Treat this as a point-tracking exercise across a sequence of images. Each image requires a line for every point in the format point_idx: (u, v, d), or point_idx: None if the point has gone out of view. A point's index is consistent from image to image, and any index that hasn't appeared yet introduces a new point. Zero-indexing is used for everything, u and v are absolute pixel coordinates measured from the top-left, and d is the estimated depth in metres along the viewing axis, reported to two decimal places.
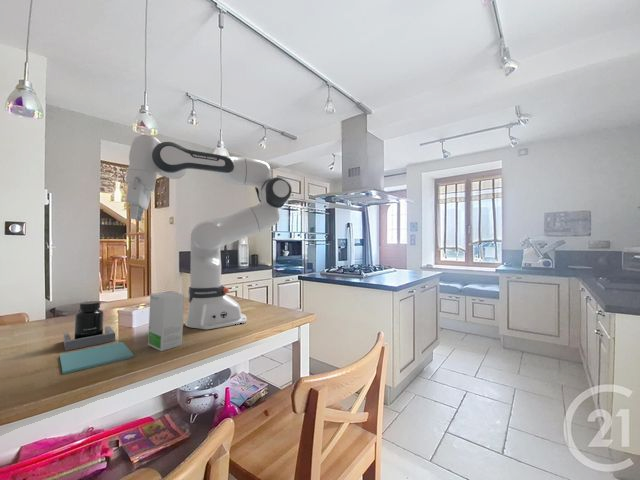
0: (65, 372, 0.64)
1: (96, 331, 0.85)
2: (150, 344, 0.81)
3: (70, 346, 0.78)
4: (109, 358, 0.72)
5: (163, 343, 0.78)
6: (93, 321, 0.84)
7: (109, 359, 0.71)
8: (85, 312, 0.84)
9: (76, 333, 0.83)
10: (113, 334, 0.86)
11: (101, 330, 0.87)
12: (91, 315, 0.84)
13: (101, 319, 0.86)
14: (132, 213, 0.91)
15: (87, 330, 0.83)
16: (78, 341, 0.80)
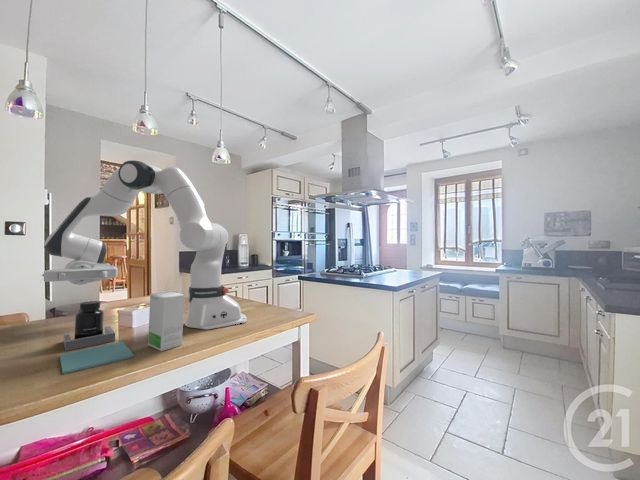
0: (65, 372, 0.64)
1: (96, 331, 0.85)
2: (150, 344, 0.81)
3: (70, 346, 0.78)
4: (109, 358, 0.72)
5: (163, 343, 0.78)
6: (93, 321, 0.84)
7: (109, 359, 0.71)
8: (85, 312, 0.84)
9: (76, 333, 0.83)
10: (113, 334, 0.86)
11: (101, 330, 0.87)
12: (91, 315, 0.84)
13: (101, 319, 0.86)
14: (62, 277, 0.92)
15: (87, 330, 0.83)
16: (78, 341, 0.80)
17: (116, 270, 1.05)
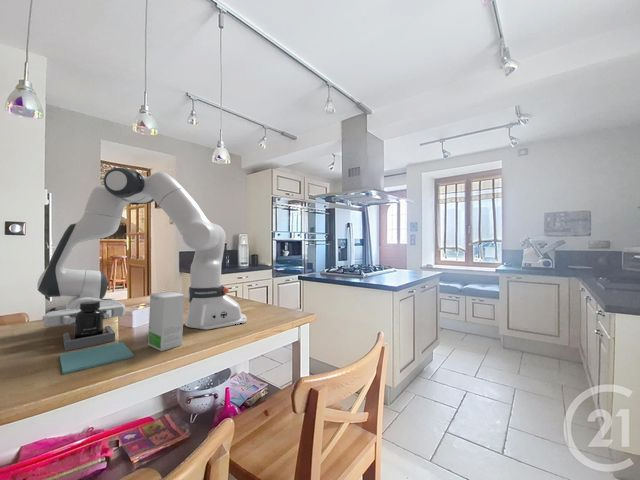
0: (65, 372, 0.64)
1: (96, 330, 0.85)
2: (150, 344, 0.81)
3: (70, 346, 0.78)
4: (109, 358, 0.72)
5: (163, 343, 0.78)
6: (93, 321, 0.84)
7: (109, 359, 0.71)
8: (85, 312, 0.84)
9: (76, 333, 0.83)
10: (113, 334, 0.86)
11: (101, 330, 0.87)
12: (91, 315, 0.84)
13: (101, 319, 0.86)
14: (68, 322, 0.83)
15: (87, 330, 0.83)
16: (78, 341, 0.80)
17: (123, 308, 0.96)
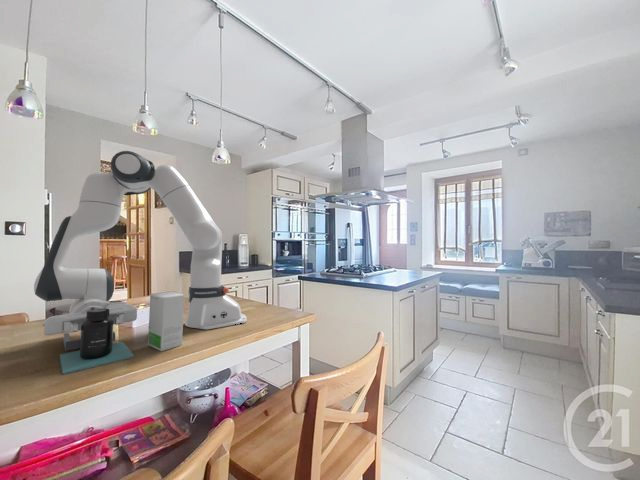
0: (65, 372, 0.64)
1: (105, 343, 0.73)
2: (150, 344, 0.81)
3: (70, 346, 0.78)
4: (109, 358, 0.72)
5: (163, 343, 0.78)
6: (102, 332, 0.72)
7: (109, 359, 0.71)
8: (92, 322, 0.72)
9: (82, 346, 0.71)
10: (113, 334, 0.86)
11: (111, 342, 0.75)
12: (99, 324, 0.72)
13: (111, 329, 0.74)
14: (69, 329, 0.71)
15: (95, 343, 0.71)
16: (78, 341, 0.80)
17: (135, 311, 0.84)
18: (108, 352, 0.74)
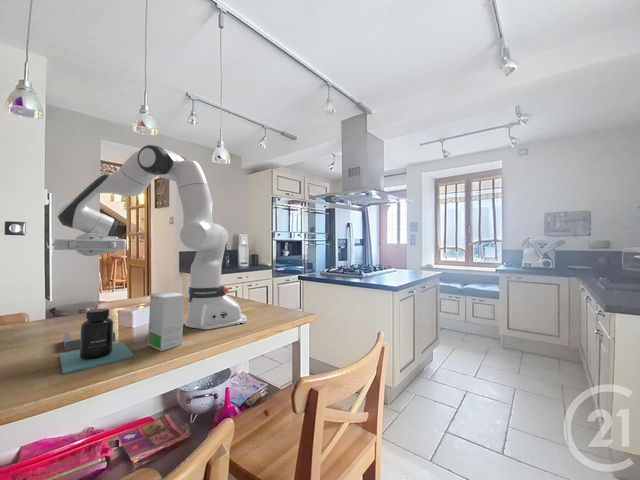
0: (65, 372, 0.64)
1: (105, 343, 0.73)
2: (150, 344, 0.81)
3: (70, 346, 0.78)
4: (109, 358, 0.72)
5: (163, 343, 0.78)
6: (102, 332, 0.72)
7: (109, 359, 0.71)
8: (92, 322, 0.72)
9: (82, 346, 0.71)
10: (113, 334, 0.86)
11: (111, 342, 0.75)
12: (99, 325, 0.72)
13: (111, 329, 0.74)
14: (73, 245, 0.93)
15: (95, 343, 0.71)
16: (78, 341, 0.80)
17: (124, 242, 1.06)
18: (108, 352, 0.74)
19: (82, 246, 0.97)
